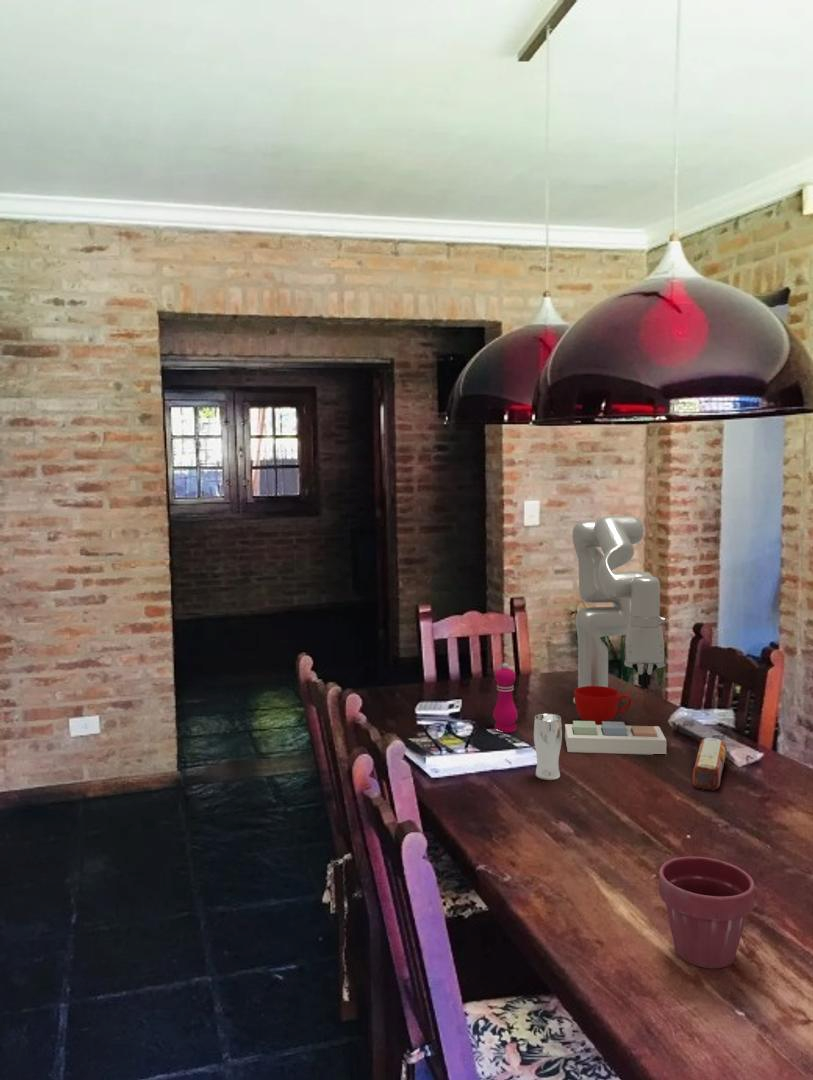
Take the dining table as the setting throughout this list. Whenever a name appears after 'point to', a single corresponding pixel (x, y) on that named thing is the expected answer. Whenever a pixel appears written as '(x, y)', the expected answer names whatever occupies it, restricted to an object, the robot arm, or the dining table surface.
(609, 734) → the button slate
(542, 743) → the beer glass
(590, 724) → the button sage
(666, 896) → the plant pot
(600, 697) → the ceramic cup
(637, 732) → the button terracotta
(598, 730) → the button panel
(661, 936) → the dining table surface
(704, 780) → the snack package
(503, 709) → the pepper mill
